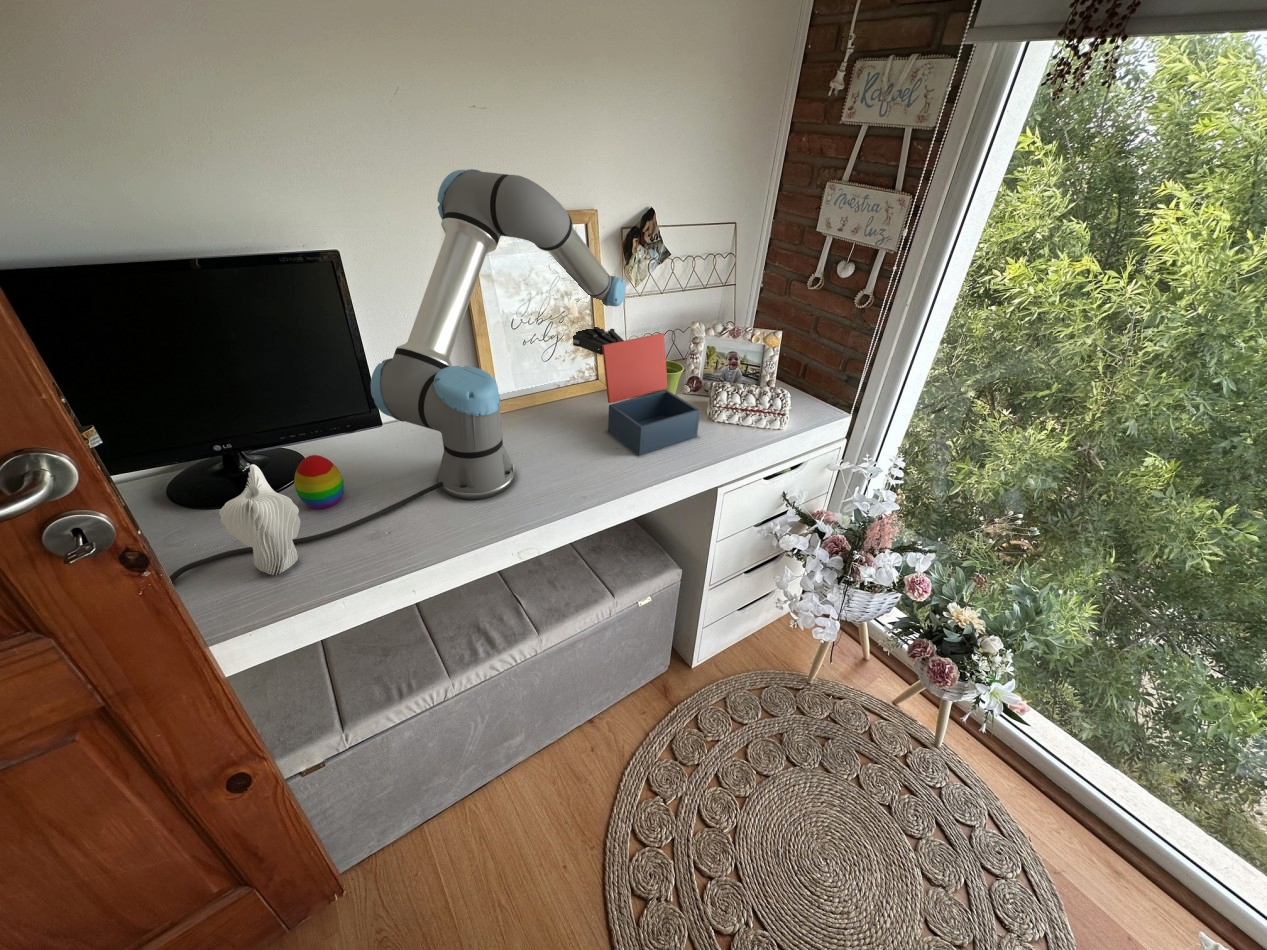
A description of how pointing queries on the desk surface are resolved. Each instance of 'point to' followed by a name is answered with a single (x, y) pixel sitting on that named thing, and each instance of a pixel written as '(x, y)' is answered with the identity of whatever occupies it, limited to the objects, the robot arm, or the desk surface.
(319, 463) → the decorative egg
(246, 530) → the shell sculpture
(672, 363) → the plant pot
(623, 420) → the box
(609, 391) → the lid
